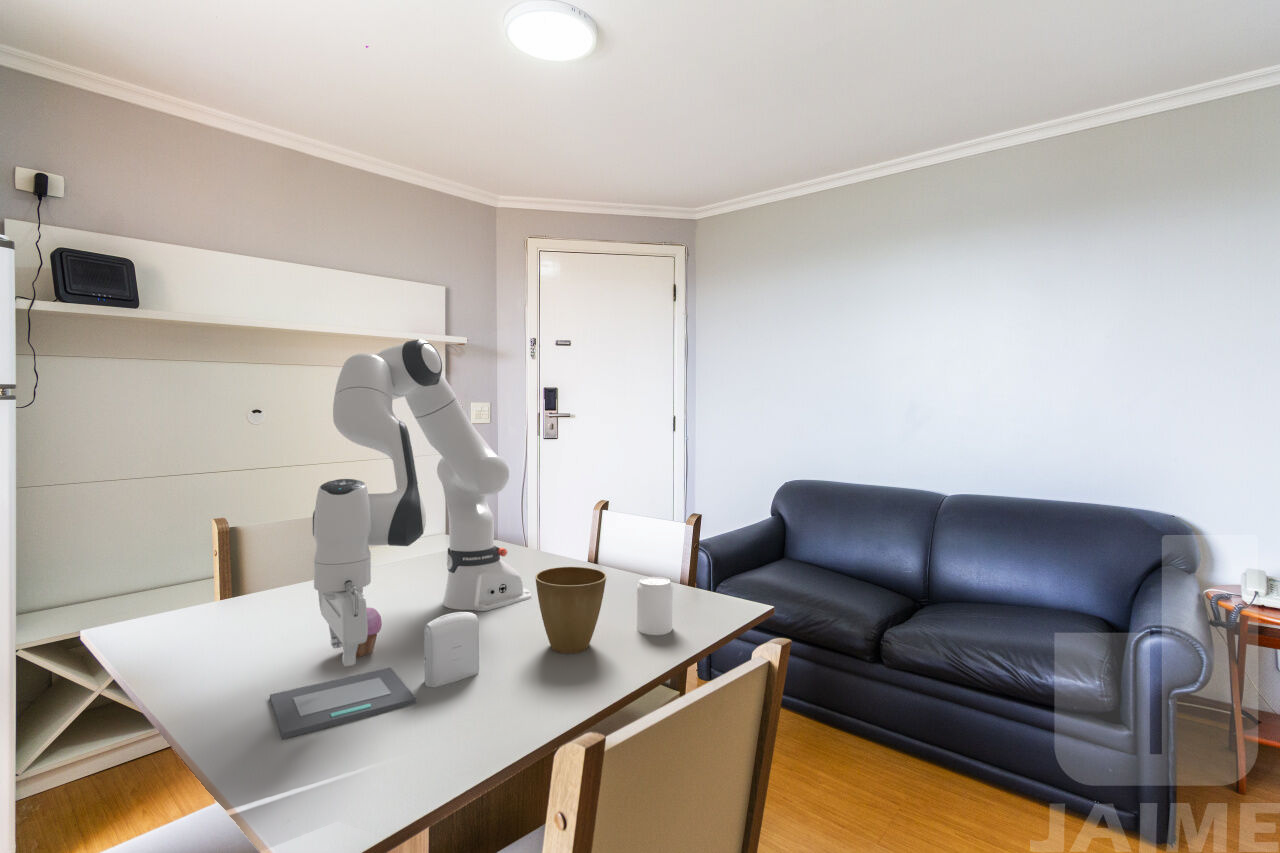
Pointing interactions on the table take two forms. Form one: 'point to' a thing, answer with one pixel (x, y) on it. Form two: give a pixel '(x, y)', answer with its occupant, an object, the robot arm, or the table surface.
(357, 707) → the charging mat
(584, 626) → the plant pot
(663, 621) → the beverage can
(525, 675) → the table surface
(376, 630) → the cupcake
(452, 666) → the photo printer
